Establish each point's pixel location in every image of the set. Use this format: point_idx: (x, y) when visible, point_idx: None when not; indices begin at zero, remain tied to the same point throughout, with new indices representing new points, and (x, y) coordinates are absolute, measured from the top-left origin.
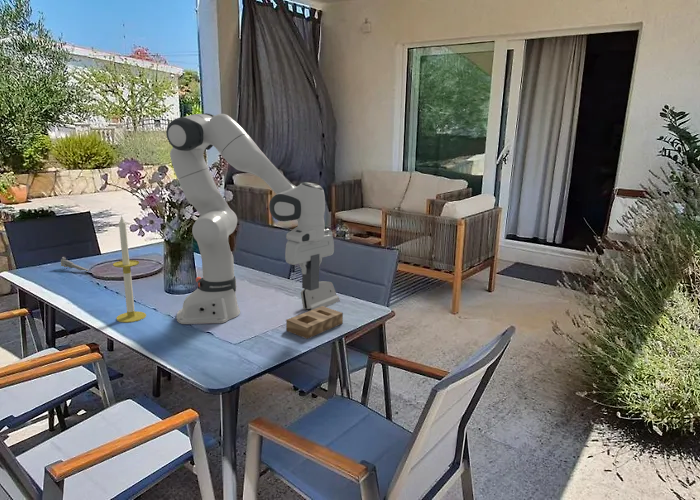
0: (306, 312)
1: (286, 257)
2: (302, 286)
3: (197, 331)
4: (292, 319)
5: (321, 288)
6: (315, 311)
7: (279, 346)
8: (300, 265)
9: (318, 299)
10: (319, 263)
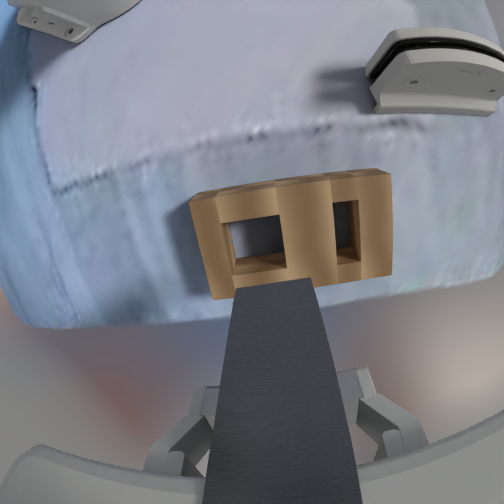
0: (297, 187)
1: (17, 478)
2: (235, 296)
3: (22, 74)
4: (209, 213)
5: (472, 77)
6: (332, 201)
7: (134, 270)
8: (162, 446)
9: (431, 90)
10: (373, 437)
